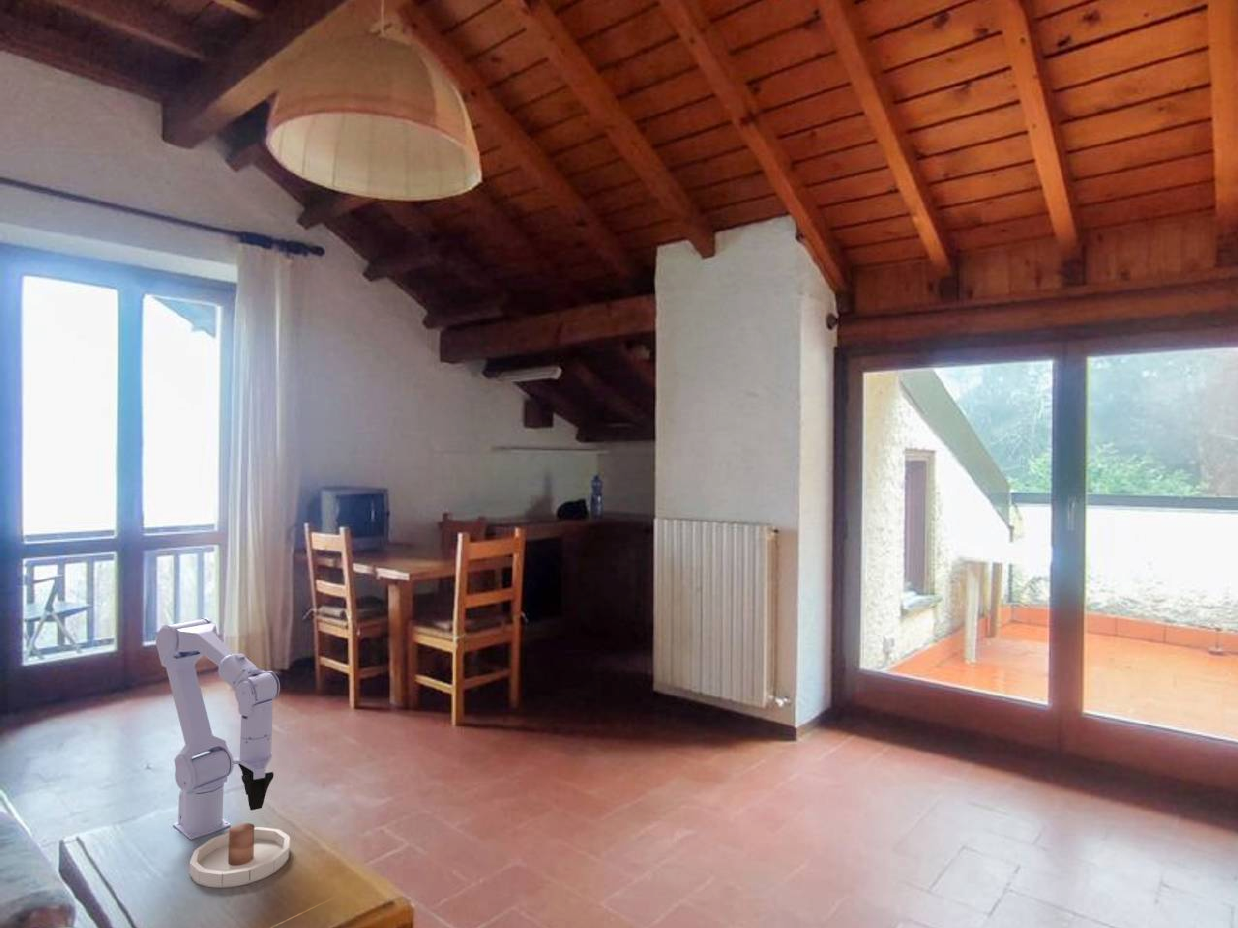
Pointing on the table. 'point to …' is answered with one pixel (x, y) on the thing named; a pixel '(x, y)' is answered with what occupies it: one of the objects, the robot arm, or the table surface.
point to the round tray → (218, 873)
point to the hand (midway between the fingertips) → (253, 800)
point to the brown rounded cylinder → (241, 844)
